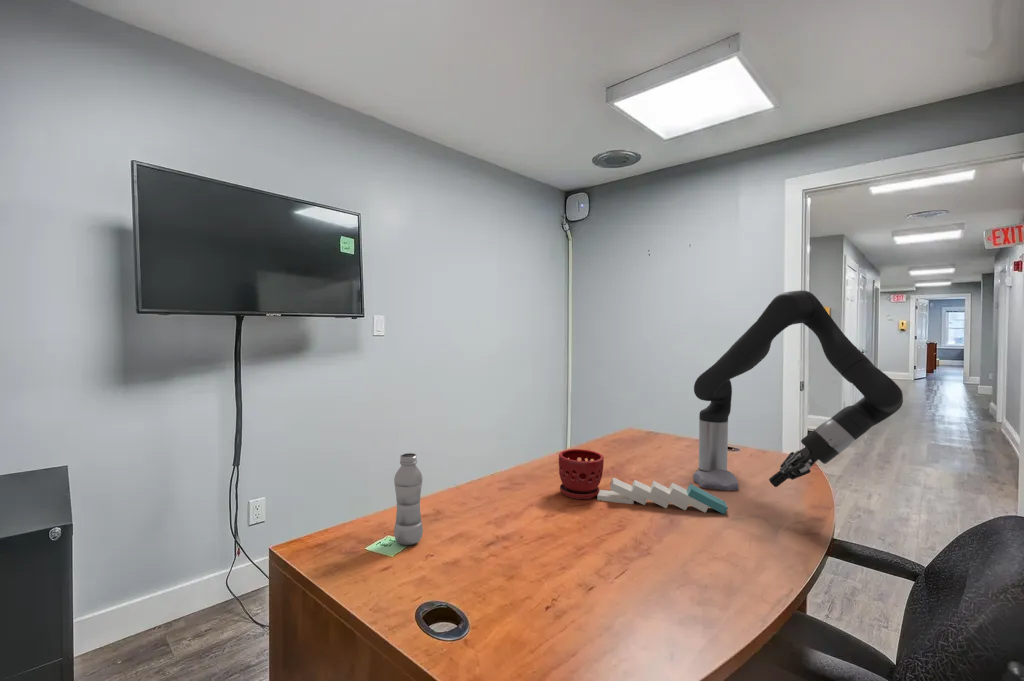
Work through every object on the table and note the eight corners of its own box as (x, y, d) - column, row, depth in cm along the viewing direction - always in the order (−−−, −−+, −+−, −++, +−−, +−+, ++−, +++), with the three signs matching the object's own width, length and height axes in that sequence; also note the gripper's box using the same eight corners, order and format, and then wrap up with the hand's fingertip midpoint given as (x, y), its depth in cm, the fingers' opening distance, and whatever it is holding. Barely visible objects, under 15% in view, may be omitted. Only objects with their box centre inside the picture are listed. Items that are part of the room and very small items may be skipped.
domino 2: (644, 505, 134) (610, 489, 136) (643, 498, 139) (610, 483, 141) (647, 498, 134) (613, 483, 136) (646, 491, 139) (613, 477, 140)
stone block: (741, 497, 147) (729, 480, 157) (742, 482, 146) (730, 466, 156) (701, 497, 148) (691, 480, 158) (702, 483, 147) (692, 467, 157)
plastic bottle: (398, 551, 106) (398, 460, 106) (390, 539, 112) (390, 453, 112) (426, 545, 109) (426, 457, 109) (418, 533, 115) (418, 450, 115)
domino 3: (666, 508, 132) (631, 491, 134) (665, 501, 137) (631, 485, 139) (669, 502, 132) (634, 485, 134) (668, 495, 137) (634, 479, 139)
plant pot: (552, 498, 140) (552, 457, 139) (565, 484, 152) (566, 446, 151) (597, 505, 135) (597, 462, 134) (607, 490, 147) (607, 451, 146)
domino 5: (705, 512, 129) (669, 494, 132) (703, 506, 134) (668, 488, 137) (708, 506, 129) (672, 488, 132) (706, 500, 134) (672, 482, 136)
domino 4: (685, 510, 131) (650, 492, 133) (684, 504, 136) (650, 486, 138) (688, 504, 131) (653, 486, 133) (687, 498, 135) (653, 480, 138)
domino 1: (633, 506, 136) (597, 502, 139) (634, 500, 140) (599, 496, 143) (633, 499, 136) (597, 495, 139) (634, 493, 140) (599, 489, 143)
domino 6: (724, 514, 128) (687, 495, 131) (721, 507, 133) (686, 489, 135) (727, 508, 128) (691, 489, 130) (725, 501, 133) (689, 483, 135)
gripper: (809, 424, 129) (757, 465, 133) (822, 434, 116) (764, 480, 121) (831, 446, 127) (778, 487, 132) (848, 459, 115) (788, 503, 119)
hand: (771, 483), depth 126 cm, fingers closed
